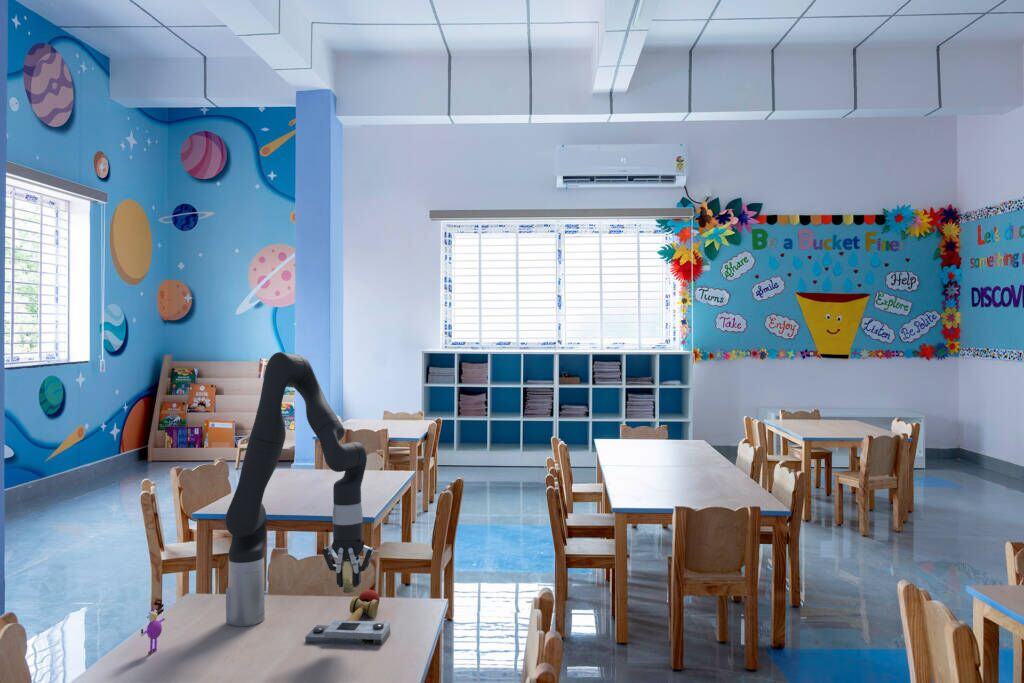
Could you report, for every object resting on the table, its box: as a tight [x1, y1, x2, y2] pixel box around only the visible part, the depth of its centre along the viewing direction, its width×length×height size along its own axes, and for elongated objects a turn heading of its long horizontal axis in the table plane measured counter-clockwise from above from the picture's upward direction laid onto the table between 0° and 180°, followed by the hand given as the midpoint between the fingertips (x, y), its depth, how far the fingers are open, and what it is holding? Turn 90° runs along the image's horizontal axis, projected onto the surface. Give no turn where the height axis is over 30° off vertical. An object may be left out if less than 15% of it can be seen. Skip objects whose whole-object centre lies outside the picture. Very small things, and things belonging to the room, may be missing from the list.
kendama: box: [347, 589, 380, 621], centre depth 213 cm, size 8×6×18 cm
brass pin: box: [341, 559, 357, 594], centre depth 199 cm, size 3×3×8 cm
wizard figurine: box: [140, 603, 166, 655], centre depth 190 cm, size 11×3×12 cm, turn 177°
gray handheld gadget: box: [305, 619, 391, 646], centre depth 199 cm, size 20×8×4 cm, turn 83°
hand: (348, 586), depth 199 cm, fingers closed on brass pin, 3 cm apart
